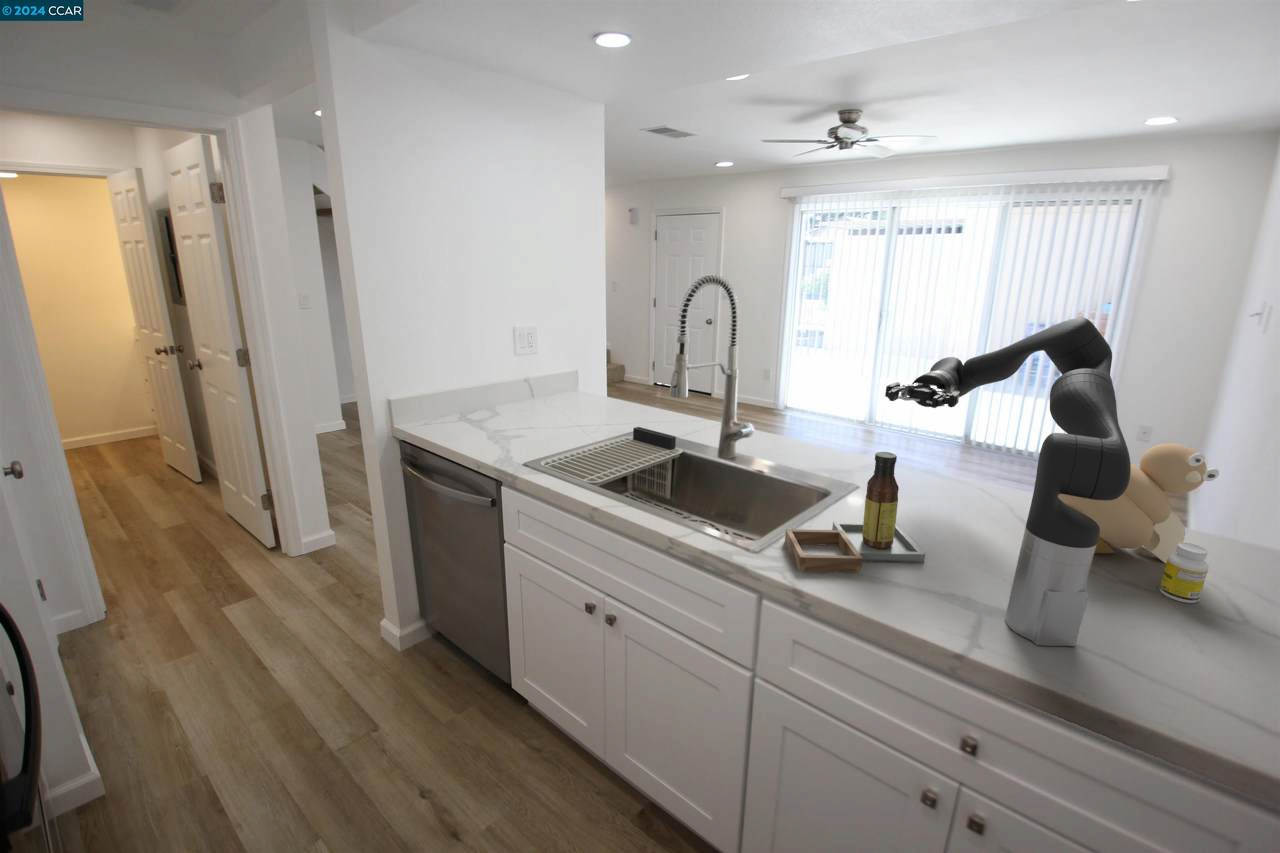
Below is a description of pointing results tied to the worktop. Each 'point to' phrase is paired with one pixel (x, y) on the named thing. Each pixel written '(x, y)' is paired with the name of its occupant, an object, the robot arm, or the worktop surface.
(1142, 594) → the worktop surface
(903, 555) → the tray
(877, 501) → the sauce bottle
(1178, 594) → the supplement bottle
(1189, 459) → the chick figurine
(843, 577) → the worktop surface
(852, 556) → the wooden frame
